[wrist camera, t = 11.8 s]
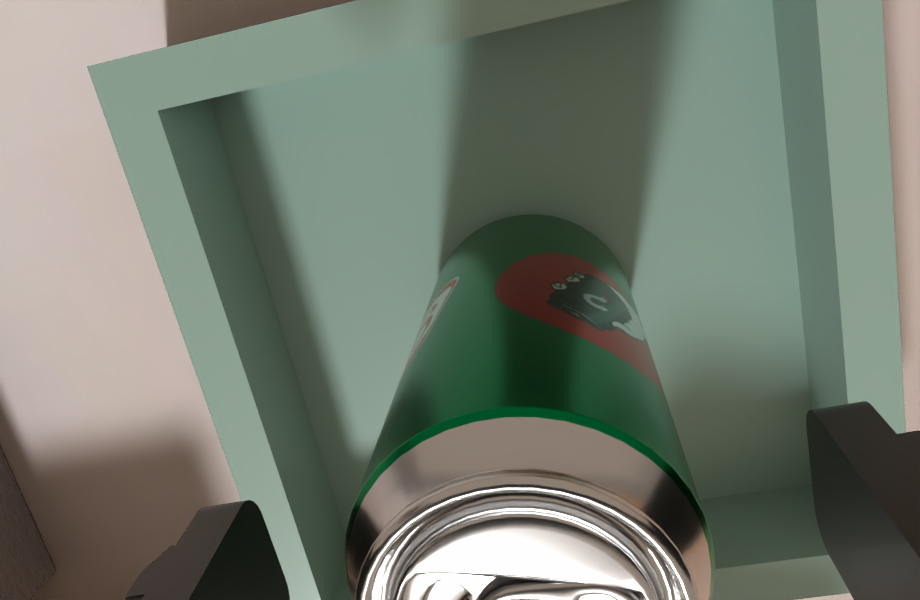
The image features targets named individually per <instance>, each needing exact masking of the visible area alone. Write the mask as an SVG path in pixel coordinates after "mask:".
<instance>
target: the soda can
mask: <svg viewBox="0 0 920 600" xmlns="http://www.w3.org/2000/svg"><path fill="white" fill-rule="evenodd" d="M344 562H345V571H346V579H347V583H348V587H349V590H350V593H351V596H352V600H710V599H711V595H712V592H713V588H714V574H715V557H714V550H713V542H712V536H711V533H710V530H709V527H708V524H707V521H706V518H705V515H704V512H703V509H702V506H701V503H700V500H699V497H698V494H697V491H696V487H695V484H694V481H693V478H692V475H691V472H690V469H689V466H688V463H687V460H686V457H685V454H684V451H683V448H682V445H681V442H680V439H679V436H678V433H677V430H676V427H675V424H674V421H673V418H672V415H671V412H670V409H669V406H668V403H667V400H666V397H665V394H664V391H663V387H662V384H661V381H660V378H659V375H658V372H657V369H656V366H655V363H654V360H653V357H652V354H651V351H650V348H649V345H648V342H647V339H646V336H645V333H644V330H643V327H642V324H641V321H640V318H639V315H638V312H637V309H636V306H635V303H634V300H633V297H632V294H631V291H630V288H629V284H628V281H627V278H626V275H625V272H624V271H623V269H622V267H621V265H620V263H619V261H618V259H617V258H616V257H615V255H614V254H613V253H612V252H611V250H610V249H609V248H608V246H606V245H605V244H604V243H603V242H602V241H601V240H600V239H599V238H598V237H597V236H595V235H594V234H592V233H591V232H589V231H588V230H586V229H585V228H583V227H581V226H579V225H577V224H575V223H573V222H571V221H568V220H565V219H561V218H558V217H554V216H547V215H539V214H528V215H517V216H511V217H506V218H503V219H500V220H497V221H494V222H491V223H489V224H487V225H485V226H483V227H481V228H480V229H478V230H476V231H475V232H473V233H472V234H471V235H469V236H468V237H467V238H465V239H464V240H463V241H462V242H461V243H460V244H459V245H458V246H457V247H456V248H455V250H454V251H453V252H452V253H451V255H450V256H449V258H448V259H447V261H446V262H445V264H444V266H443V268H442V270H441V273H440V275H439V277H438V280H437V282H436V285H435V288H434V290H433V293H432V296H431V298H430V301H429V304H428V306H427V309H426V312H425V314H424V317H423V320H422V322H421V325H420V328H419V331H418V333H417V336H416V339H415V341H414V344H413V347H412V349H411V352H410V355H409V357H408V360H407V363H406V365H405V368H404V371H403V373H402V376H401V379H400V381H399V384H398V387H397V389H396V392H395V395H394V398H393V400H392V403H391V406H390V408H389V411H388V414H387V416H386V419H385V422H384V424H383V427H382V430H381V432H380V435H379V438H378V440H377V443H376V446H375V448H374V451H373V454H372V456H371V459H370V462H369V464H368V467H367V470H366V473H365V475H364V478H363V481H362V483H361V486H360V489H359V491H358V494H357V497H356V499H355V502H354V505H353V507H352V510H351V514H350V518H349V522H348V526H347V530H346V534H345V549H344Z"/></svg>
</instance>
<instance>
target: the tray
mask: <svg viewBox="0 0 920 600" xmlns="http://www.w3.org/2000/svg"><path fill="white" fill-rule="evenodd" d="M87 68H88V71H89V73H90V76H91V79H92V82H93V85H94V87H95V90H96V93H97V96H98V99H99V101H100V104H101V107H102V110H103V113H104V116H105V118H106V121H107V124H108V127H109V130H110V132H111V135H112V138H113V141H114V144H115V147H116V149H117V152H118V155H119V158H120V161H121V163H122V166H123V169H124V172H125V175H126V178H127V180H128V183H129V186H130V189H131V192H132V194H133V197H134V200H135V203H136V206H137V209H138V211H139V214H140V217H141V220H142V223H143V225H144V228H145V231H146V234H147V237H148V240H149V242H150V245H151V248H152V251H153V254H154V256H155V259H156V262H157V265H158V268H159V271H160V273H161V276H162V279H163V282H164V285H165V287H166V290H167V293H168V296H169V299H170V302H171V304H172V307H173V310H174V313H175V316H176V318H177V321H178V324H179V327H180V330H181V332H182V335H183V338H184V341H185V344H186V347H187V349H188V352H189V355H190V358H191V361H192V363H193V366H194V369H195V372H196V375H197V378H198V380H199V383H200V386H201V389H202V392H203V394H204V397H205V400H206V403H207V406H208V409H209V411H210V414H211V417H212V420H213V423H214V425H215V428H216V431H217V434H218V437H219V440H220V442H221V445H222V448H223V451H224V454H225V456H226V459H227V462H228V465H229V468H230V471H231V473H232V476H233V479H234V482H235V485H236V487H237V490H238V493H239V496H240V499H241V501H246V500H251V501H254V502H255V503H256V504H257V505H258V507H259V509H260V510H261V513H262V515H263V518H264V521H265V523H266V526H267V529H268V532H269V534H270V537H271V540H272V543H273V546H274V548H275V551H276V554H277V557H278V559H279V562H280V565H281V568H282V570H283V573H284V576H285V579H286V582H287V585H288V589H289V596H290V600H352V596H351V593H350V590H349V587H348V583H347V579H346V571H345V562H344V549H345V534H346V530H347V526H348V522H349V518H350V514H351V510H352V507H353V505H354V502H355V499H356V497H357V494H358V491H359V489H360V486H361V483H362V481H363V478H364V475H365V473H366V470H367V467H368V464H369V462H370V459H371V456H372V454H373V451H374V448H375V446H376V443H377V440H378V438H379V435H380V432H381V430H382V427H383V424H384V422H385V419H386V416H387V414H388V411H389V408H390V406H391V403H392V400H393V398H394V395H395V392H396V389H397V387H398V384H399V381H400V379H401V376H402V373H403V371H404V368H405V365H406V363H407V360H408V357H409V355H410V352H411V349H412V347H413V344H414V341H415V339H416V336H417V333H418V331H419V328H420V325H421V322H422V320H423V317H424V314H425V312H426V309H427V306H428V304H429V301H430V298H431V296H432V293H433V290H434V288H435V285H436V282H437V280H438V277H439V275H440V273H441V270H442V268H443V266H444V264H445V262H446V261H447V259H448V258H449V256H450V255H451V253H452V252H453V251H454V250H455V248H456V247H457V246H458V245H459V244H460V243H461V242H462V241H463V240H464V239H465V238H467V237H468V236H469V235H471V234H472V233H473V232H475V231H476V230H478V229H480V228H481V227H483V226H485V225H487V224H489V223H491V222H494V221H497V220H500V219H503V218H506V217H511V216H517V215H528V214H539V215H547V216H554V217H558V218H561V219H565V220H568V221H571V222H573V223H575V224H577V225H579V226H581V227H583V228H585V229H586V230H588V231H589V232H591V233H592V234H594V235H595V236H597V237H598V238H599V239H600V240H601V241H602V242H603V243H604V244H605V245H606V246H608V248H609V249H610V250H611V252H612V253H613V254H614V255H615V257H616V258H617V259H618V261H619V263H620V265H621V267H622V269H623V271H624V272H625V275H626V278H627V281H628V284H629V288H630V291H631V294H632V297H633V300H634V303H635V306H636V309H637V312H638V315H639V318H640V321H641V324H642V327H643V330H644V333H645V336H646V339H647V342H648V345H649V348H650V351H651V354H652V357H653V360H654V363H655V366H656V369H657V372H658V375H659V378H660V381H661V384H662V387H663V391H664V394H665V397H666V400H667V403H668V406H669V409H670V412H671V415H672V418H673V421H674V424H675V427H676V430H677V433H678V436H679V439H680V442H681V445H682V448H683V451H684V454H685V457H686V460H687V463H688V466H689V469H690V472H691V475H692V478H693V481H694V484H695V487H696V491H697V494H698V497H699V500H700V503H701V506H702V509H703V512H704V515H705V518H706V521H707V524H708V527H709V530H710V533H711V536H712V542H713V550H714V557H715V574H714V588H713V592H712V595H711V599H710V600H795V599H803V598H811V597H820V596H828V595H836V594H844V593H850V592H849V590H848V588H847V586H846V585H845V583H844V581H843V579H842V577H841V576H840V574H839V572H838V570H837V568H836V567H835V565H834V563H833V561H832V560H831V558H830V556H829V554H828V552H827V550H826V547H825V545H824V542H823V540H822V537H821V534H820V530H819V527H818V523H817V518H816V513H815V507H814V498H813V488H812V478H811V468H810V458H809V448H808V439H807V429H806V416H807V412H808V411H809V410H813V409H819V408H825V407H832V406H838V405H844V404H850V403H856V402H862V401H867V402H869V403H870V404H871V405H872V406H873V407H874V408H875V410H876V411H877V412H878V413H879V414H880V415H881V416H882V418H883V419H884V420H885V421H886V422H887V423H888V424H889V426H890V427H891V428H892V429H893V430H894V431H895V432H896V433H897V434H900V433H906V426H905V408H904V389H903V371H902V353H901V335H900V317H899V298H898V280H897V262H896V244H895V226H894V207H893V189H892V171H891V153H890V135H889V116H888V98H887V80H886V62H885V44H884V25H883V7H882V0H355V1H351V2H347V3H343V4H339V5H335V6H331V7H327V8H323V9H319V10H315V11H311V12H307V13H303V14H298V15H294V16H290V17H286V18H282V19H278V20H274V21H270V22H266V23H262V24H258V25H254V26H250V27H246V28H242V29H238V30H234V31H229V32H225V33H221V34H217V35H213V36H209V37H205V38H201V39H197V40H193V41H189V42H185V43H181V44H177V45H173V46H169V47H165V48H160V49H156V50H152V51H148V52H144V53H140V54H136V55H132V56H128V57H124V58H120V59H116V60H112V61H108V62H104V63H100V64H96V65H91V66H87Z"/></svg>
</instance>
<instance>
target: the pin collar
mask: <svg viewBox="0 0 920 600" xmlns="http://www.w3.org/2000/svg"><path fill="white" fill-rule="evenodd" d="M55 570H56V569H55V567H54V565H53V563H52V561H51V558H50V556H49V554H48V552H47V550H46V547H45V545H44V543H43V541H42V539H41V536H40V534H39V532H38V530H37V527H36V525H35V523H34V521H33V519H32V516H31V514H30V512H29V510H28V508H27V505H26V503H25V501H24V499H23V497H22V494H21V492H20V490H19V488H18V485H17V483H16V481H15V479H14V477H13V474H12V472H11V470H10V468H9V466H8V463H7V461H6V459H5V457H4V455H3V452H2V450H1V448H0V600H31V599H32V597H33V596H34V595H35V594H36V593H37V592H38V590H39V589H40V588H41V587H42V586H43V584H44V583H45V582H46V581H47V580H48V579H49V577H50V576H51V575H52V574H53V573H54V572H55Z"/></svg>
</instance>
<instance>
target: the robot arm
mask: <svg viewBox="0 0 920 600" xmlns="http://www.w3.org/2000/svg"><path fill="white" fill-rule="evenodd" d="M806 429H807V439H808V448H809V458H810V468H811V478H812V488H813V498H814V507H815V513H816V518H817V523H818V527H819V530H820V534H821V537H822V540H823V542H824V545H825V547H826V550H827V552H828V554H829V556H830V558H831V560H832V561H833V563H834V565H835V567H836V568H837V570H838V572H839V574H840V576H841V577H842V579H843V581H844V583H845V585H846V586H847V588H848V590H849V592H850V593H851V595H852V597H853V599H854V600H920V431H913V432H906V433H900V434H897V433H896V432H895V431H894V430H893V429H892V428H891V427H890V426H889V424H888V423H887V422H886V421H885V420H884V419H883V418H882V416H881V415H880V414H879V413H878V412H877V411H876V410H875V408H874V407H873V406H872V405H871V404H870V403H869V402H867V401H862V402H856V403H850V404H844V405H838V406H832V407H825V408H819V409H813V410H809V411H808V412H807V416H806ZM125 598H126V600H290V596H289V589H288V585H287V582H286V579H285V576H284V573H283V570H282V568H281V565H280V562H279V559H278V557H277V554H276V551H275V548H274V546H273V543H272V540H271V537H270V534H269V532H268V529H267V526H266V523H265V521H264V518H263V515H262V513H261V510H260V509H259V507H258V505H257V504H256V503H255V502H254V501H251V500H246V501H240V502H234V503H228V504H222V505H216V506H210V507H204V508H202V509H200V510H199V511H198V513H197V514H196V515H195V517H194V518H193V520H192V522H191V523H190V525H189V526H188V528H187V529H186V531H185V532H184V534H183V536H182V537H181V539H180V540H179V542H178V543H177V545H175V546H171V547H169V548H168V549H167V550H166V551H165V552H164V553H163V554H162V555H160V556H159V557H158V558H157V559H156V560H155V561H154V562H152V563H151V564H150V565H149V566H148V567H147V568H146V569H144V570H143V572H142V573H141V575H140V576H139V578H138V579H137V580H136V582H135V583H134V585H133V586H132V588H131V589H130V591H129V592H128V594H127V595H126V597H125Z"/></svg>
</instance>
